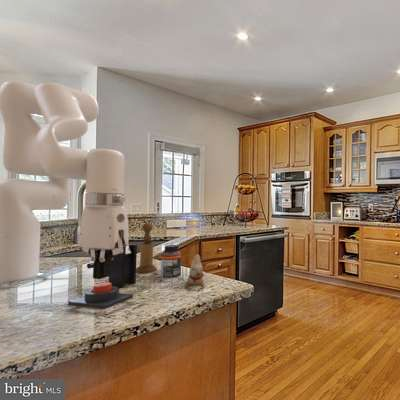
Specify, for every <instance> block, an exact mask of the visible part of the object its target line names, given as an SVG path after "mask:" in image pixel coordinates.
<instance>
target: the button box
mask: <svg viewBox="0 0 400 400" xmlns="http://www.w3.org/2000/svg"><path fill="white" fill-rule="evenodd" d="M133 298H134V294H131V293H123V292H120V288H118V287H114V286H111V291H108V292H103V293H93V288H90V289H88V290H86V291H85V292H84V296H81V297H78V298H74V299H72V300H69V301H68V302H67V305H68V306H74V307H83V308H92V309H100V310H106V309H108V308H111V307H114V306H116V305H118V304H120V303H123V302H126V301H128V300H130V299H133Z"/></svg>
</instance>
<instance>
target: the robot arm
mask: <svg viewBox="0 0 400 400" xmlns="http://www.w3.org/2000/svg"><path fill="white" fill-rule="evenodd" d="M99 113H100V106H99V103H98V101H97V99H96V98H95V97H94V96H93V95H92V94H90V93H87V92H85V91H82V90H79V89H76V88H73V87H69V86H67V85H65V84H61V83H57V82H52V81H50V82H48V81H47V82H42V83H39V84H37V85H35V84H32V83H29V82H24V81H19V80H8V81H5V82H3V83H2V84H1V86H0V114H1V118H2V120H3V124H4V135H3V149H2V150H3V154H2V162H3V163H2V164H3V167H4V169H5V171H7V172H9V173H12V174H17V175H25V176H36V177H47V179H48V180H40V179H31V178H30V179H28V178H6V179H2V180H0V284H4V283H10V282H19V281H25V280H31V279H34V278H37V277H39V276H40V275H42V273H40V259H41V258H40V256H41V255H40V254H41V221H40V220H39V219H38V218H37V217H36V215H35V214H34V213H32V211H41V210H42V211H51V210H53V211H54V210H61V209H62V210H63V209H64V208H65V207H66V206H67V205H68V203H69V200H70V195H71V193H70V192H71V180H81V181H85V194H84V195H85V197H84V206H83V209H82V213H81V218H80V225H79V237H78V238H79V245H80V246H81V247H82V249H81V250H82V252H84V253H86V254H88V255H89V256H90V260H91V262H92V263H93V268H92V279H94V280H101V279H105V278H109V276H110V269H111V260H113V258H114V256H115V255H117V254H121V253H123V252H124V251H123V247H126V246H127V245H128V244H129V239H130V238H129V237H130V236H129V235H130V234H129V233H130V232H129V218H128V212H127V209H126V207H125V206H124V203H125V202H126V198H125V197H124V191H125V190H124V189H125V165H126V158H125V155H124V153H123V152H121V151H119V150H115V149H109V148H91V149H90V150H88V149H82V148H75V147H69V146H63V145H61V144H60V143H61V142H62V143H63V142H67V141H72V140H77V139H79V138H81V137H83V136H85V135H86V133H87V131H88V129H89V123H92V122H95V120H96V119H97V118H98V117H99ZM34 116H38V117H43V119H44V122H45V124H44V125H43V126H42V125H41V124H40V122H39V121H38V120H37V119H36V118H35V117H34Z"/></svg>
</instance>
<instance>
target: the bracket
mask: <svg viewBox="0 0 400 400" xmlns="http://www.w3.org/2000/svg"><path fill="white" fill-rule="evenodd" d="M128 245H129V247H130V250H131V254H128V255H126V256H125V254H126V247H123V251H124V252H123V253H121V254H117V255H115V256H114V258H113V260H111V269H110V276H109V277H108V282H109V283H111V284H112V285H111V286H114V287H118V288H119V289H124V288H125V284H126V285H135V284H136V283H137V273H136V268H137V257H138V254H137V252H138V244H136V243H135V244H134V243H128ZM128 245H127V246H128Z"/></svg>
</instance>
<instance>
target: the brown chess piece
mask: <svg viewBox="0 0 400 400" xmlns="http://www.w3.org/2000/svg"><path fill="white" fill-rule="evenodd" d="M142 230H143V231H144V235H143V241H144V242H140V252H139V253H140V255H139V258H140V259H139V266H137V267H136V274H148V273H149V274H150V273H153V272H157V271H158V267H156V265H154V242H153V241H151V239H152V235H151V231H153V224H152V223H151V222H145V223H143V225H142Z"/></svg>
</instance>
